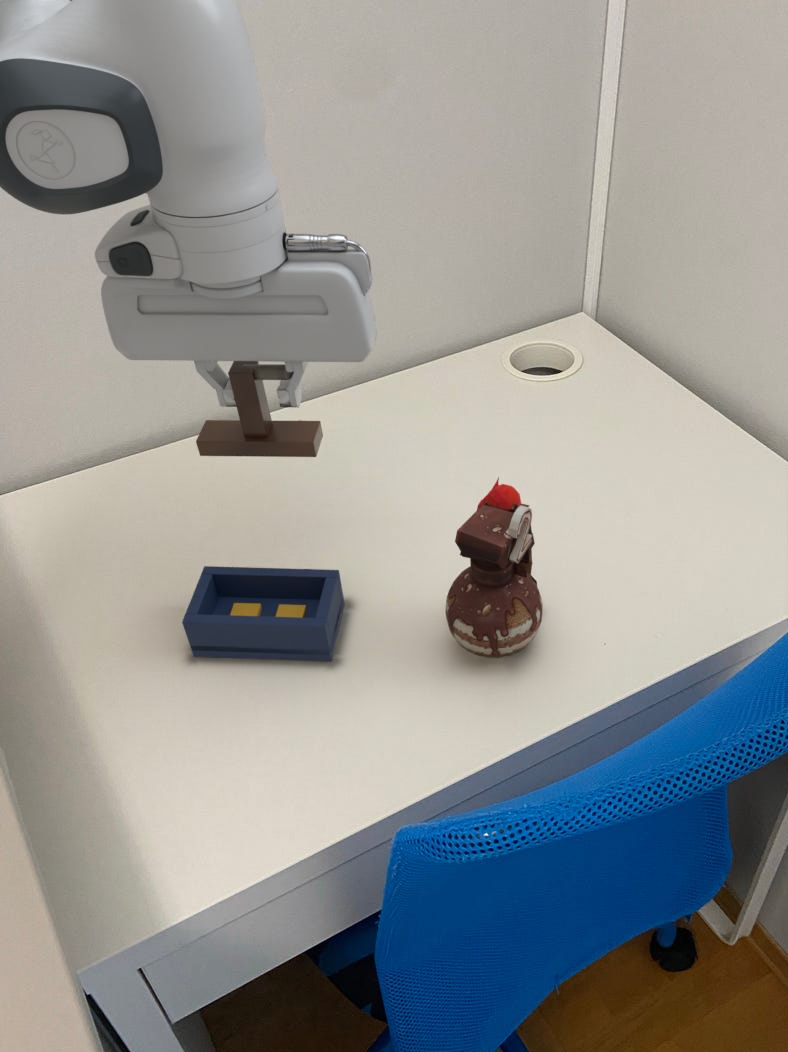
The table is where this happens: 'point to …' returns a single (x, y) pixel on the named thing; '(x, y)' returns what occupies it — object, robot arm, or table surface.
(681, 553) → the table surface
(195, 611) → the token holder
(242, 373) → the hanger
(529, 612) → the grenade
